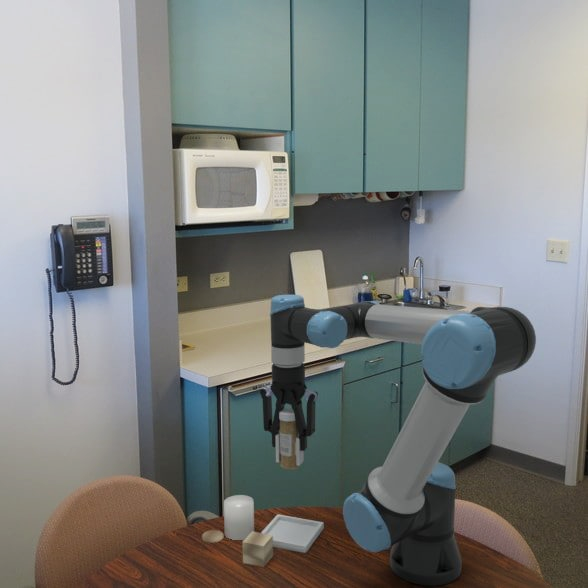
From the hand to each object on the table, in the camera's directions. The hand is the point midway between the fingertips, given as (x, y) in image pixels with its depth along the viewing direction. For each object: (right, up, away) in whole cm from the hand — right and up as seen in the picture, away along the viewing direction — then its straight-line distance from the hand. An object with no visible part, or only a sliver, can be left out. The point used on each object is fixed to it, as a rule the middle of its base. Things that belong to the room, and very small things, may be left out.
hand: (289, 461), depth 159 cm
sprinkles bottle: (0, -1, 0) cm, 1 cm away
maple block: (-7, -20, -7) cm, 22 cm away
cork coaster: (-18, -19, +3) cm, 26 cm away
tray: (0, -18, +3) cm, 18 cm away
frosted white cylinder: (-12, -18, +5) cm, 22 cm away
